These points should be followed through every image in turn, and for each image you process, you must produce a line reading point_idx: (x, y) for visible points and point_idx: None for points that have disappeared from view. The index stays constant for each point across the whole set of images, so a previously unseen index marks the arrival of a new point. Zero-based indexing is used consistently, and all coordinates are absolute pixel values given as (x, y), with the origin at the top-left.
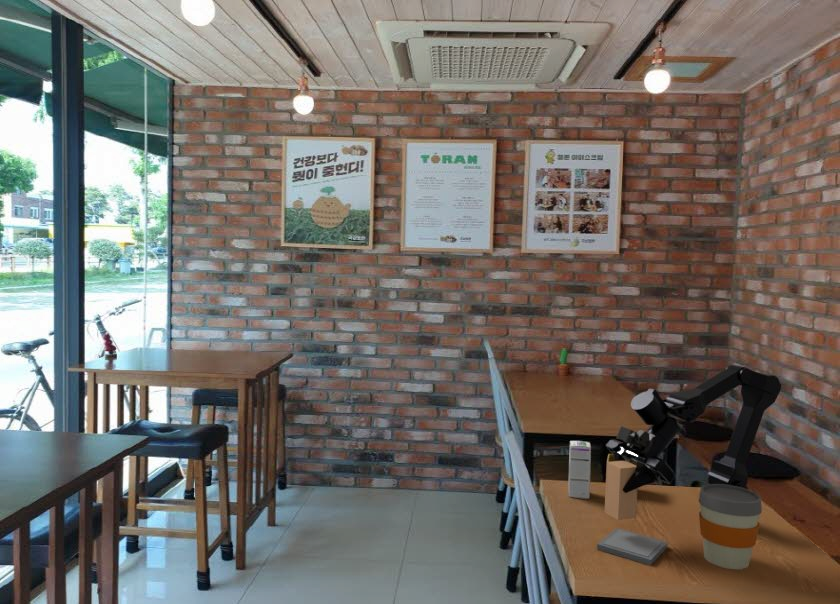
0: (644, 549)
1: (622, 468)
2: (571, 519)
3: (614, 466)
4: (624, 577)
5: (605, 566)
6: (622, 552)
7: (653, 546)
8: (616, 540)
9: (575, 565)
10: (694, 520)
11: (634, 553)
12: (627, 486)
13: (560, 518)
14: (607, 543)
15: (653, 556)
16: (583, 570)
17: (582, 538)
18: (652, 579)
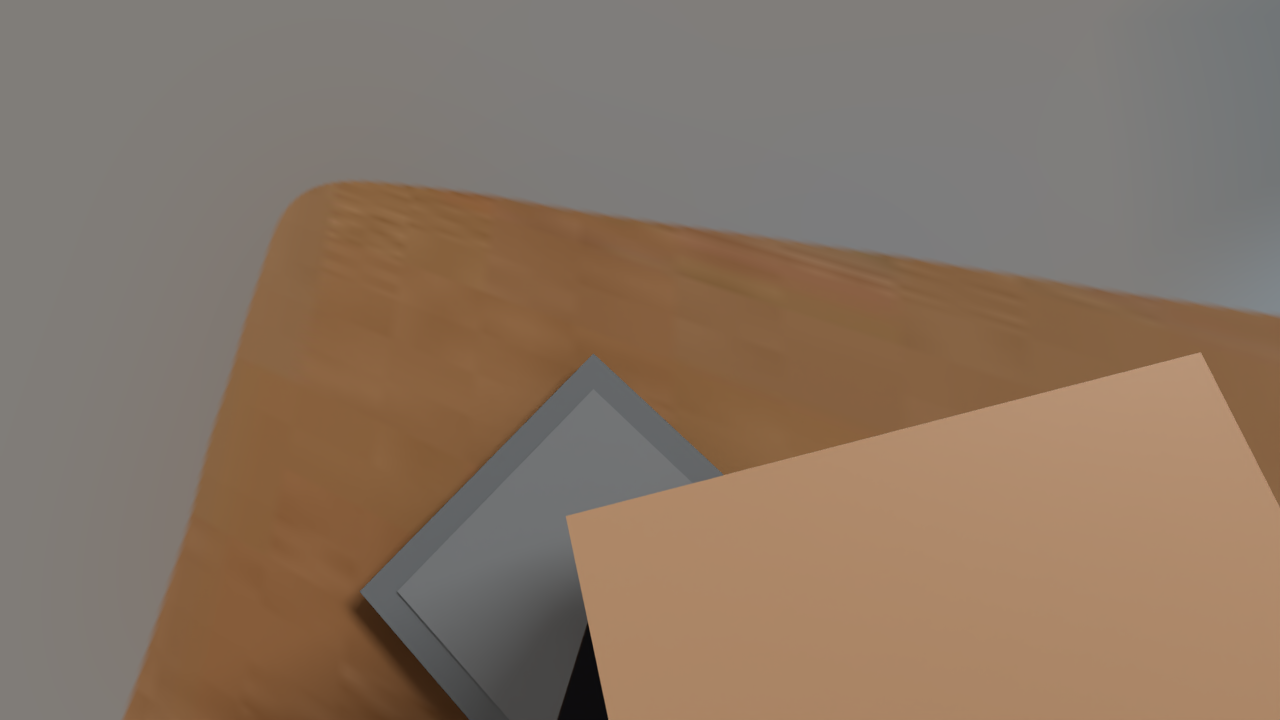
0: (492, 618)
1: (586, 597)
2: (1031, 361)
3: (835, 449)
4: (280, 380)
5: (403, 332)
6: (487, 464)
7: (528, 707)
8: (633, 490)
9: (432, 195)
10: None
11: (453, 527)
12: (589, 635)
13: (1039, 298)
14: (591, 414)
15: (400, 632)
16: (379, 215)
17: (742, 332)
18: (233, 517)
